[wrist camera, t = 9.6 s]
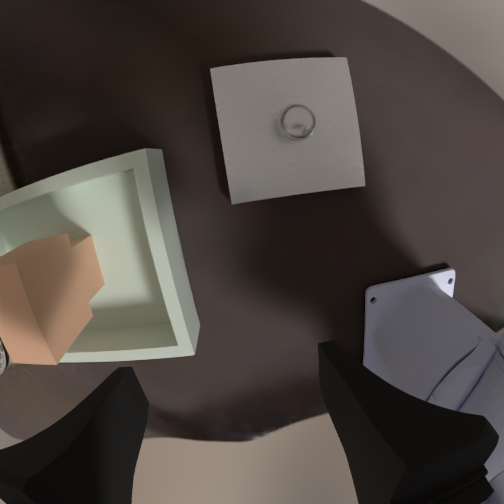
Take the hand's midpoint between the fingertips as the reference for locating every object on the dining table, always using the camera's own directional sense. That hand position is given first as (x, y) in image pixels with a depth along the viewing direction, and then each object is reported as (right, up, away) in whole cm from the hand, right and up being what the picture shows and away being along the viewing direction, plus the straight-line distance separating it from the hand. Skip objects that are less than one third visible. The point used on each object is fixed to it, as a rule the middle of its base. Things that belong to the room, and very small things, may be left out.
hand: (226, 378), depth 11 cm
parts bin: (-11, +4, +8) cm, 14 cm away
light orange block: (-11, +4, +7) cm, 14 cm away
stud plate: (+3, +12, +6) cm, 14 cm away
